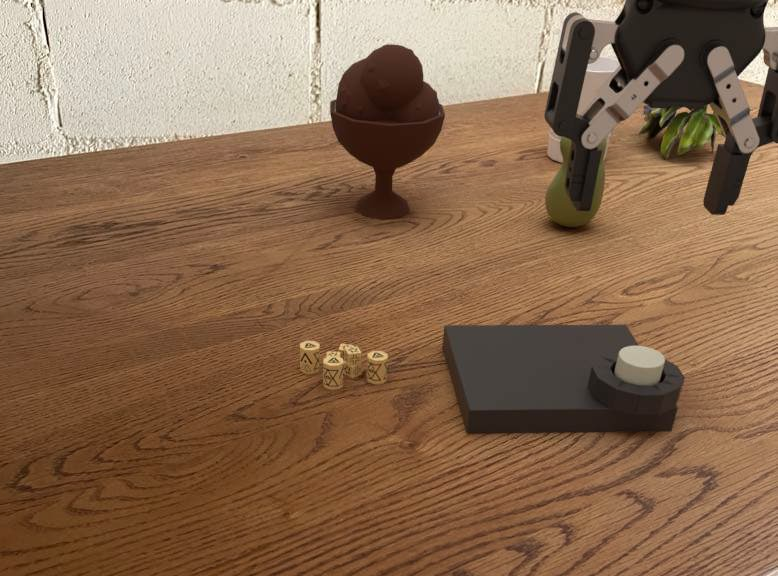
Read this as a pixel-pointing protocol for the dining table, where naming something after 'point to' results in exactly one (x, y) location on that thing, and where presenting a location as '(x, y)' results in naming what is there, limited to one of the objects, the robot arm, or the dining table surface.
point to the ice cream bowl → (386, 121)
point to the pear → (559, 201)
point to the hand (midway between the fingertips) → (647, 209)
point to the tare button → (639, 365)
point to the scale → (553, 380)
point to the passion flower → (681, 128)
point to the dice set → (342, 364)
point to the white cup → (586, 98)
